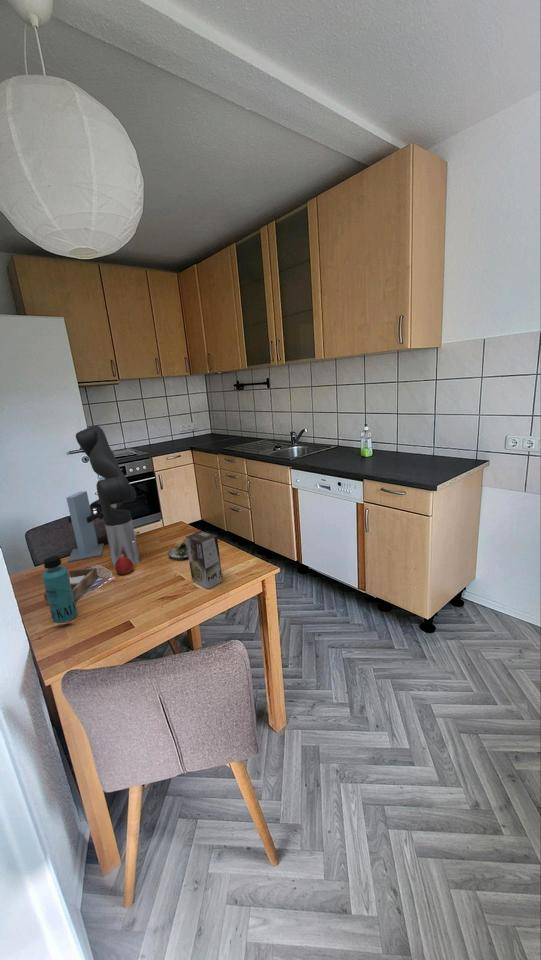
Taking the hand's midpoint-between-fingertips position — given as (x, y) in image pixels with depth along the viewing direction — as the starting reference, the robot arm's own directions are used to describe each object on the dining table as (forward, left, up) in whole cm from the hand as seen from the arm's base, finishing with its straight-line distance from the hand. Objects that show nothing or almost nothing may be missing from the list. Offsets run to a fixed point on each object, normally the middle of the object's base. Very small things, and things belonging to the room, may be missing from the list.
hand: (78, 520), depth 151 cm
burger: (-37, +19, -15) cm, 45 cm away
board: (-1, -2, -14) cm, 14 cm away
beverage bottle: (-1, +49, -15) cm, 51 cm away
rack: (-1, +33, -14) cm, 36 cm away
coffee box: (-42, +44, -15) cm, 63 cm away
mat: (0, -1, -14) cm, 15 cm away
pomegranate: (-16, +27, -15) cm, 35 cm away
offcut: (-1, +30, -13) cm, 33 cm away
